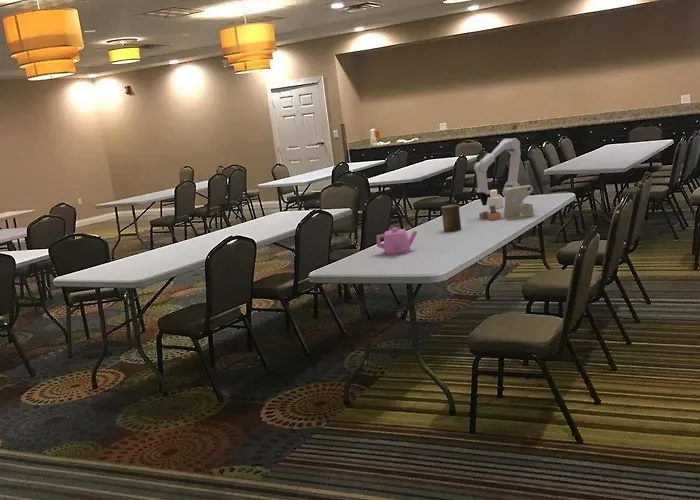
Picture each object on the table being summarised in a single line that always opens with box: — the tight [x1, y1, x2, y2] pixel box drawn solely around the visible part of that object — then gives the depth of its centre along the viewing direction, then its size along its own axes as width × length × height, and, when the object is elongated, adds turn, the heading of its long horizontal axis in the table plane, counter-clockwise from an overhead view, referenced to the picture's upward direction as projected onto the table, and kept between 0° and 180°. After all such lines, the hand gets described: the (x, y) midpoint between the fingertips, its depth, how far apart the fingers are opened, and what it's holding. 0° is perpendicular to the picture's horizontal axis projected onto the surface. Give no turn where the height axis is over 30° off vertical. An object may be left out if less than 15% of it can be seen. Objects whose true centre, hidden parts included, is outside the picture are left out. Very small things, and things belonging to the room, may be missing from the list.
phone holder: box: [500, 184, 535, 221], centre depth 416 cm, size 17×10×18 cm, turn 104°
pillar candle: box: [441, 204, 462, 232], centre depth 404 cm, size 10×10×15 cm
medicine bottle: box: [487, 188, 504, 210], centre depth 462 cm, size 7×7×12 cm
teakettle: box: [376, 227, 418, 256], centre depth 363 cm, size 17×17×12 cm
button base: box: [478, 211, 491, 220], centre depth 430 cm, size 6×6×3 cm
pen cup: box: [487, 210, 502, 221], centre depth 421 cm, size 6×6×4 cm
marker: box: [489, 204, 497, 214], centre depth 420 cm, size 3×3×8 cm
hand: (484, 205), depth 429 cm, fingers closed
